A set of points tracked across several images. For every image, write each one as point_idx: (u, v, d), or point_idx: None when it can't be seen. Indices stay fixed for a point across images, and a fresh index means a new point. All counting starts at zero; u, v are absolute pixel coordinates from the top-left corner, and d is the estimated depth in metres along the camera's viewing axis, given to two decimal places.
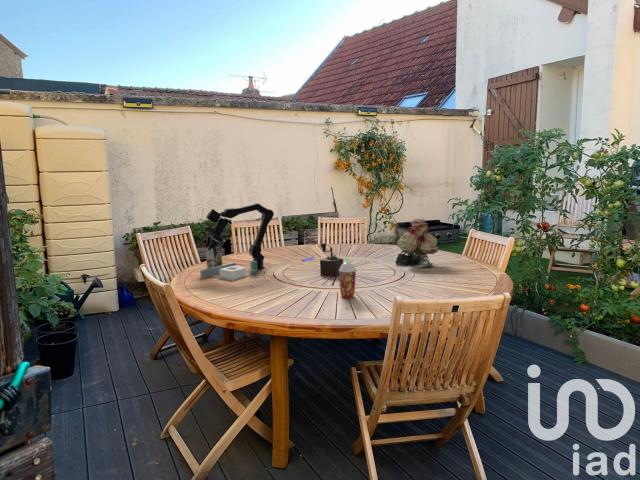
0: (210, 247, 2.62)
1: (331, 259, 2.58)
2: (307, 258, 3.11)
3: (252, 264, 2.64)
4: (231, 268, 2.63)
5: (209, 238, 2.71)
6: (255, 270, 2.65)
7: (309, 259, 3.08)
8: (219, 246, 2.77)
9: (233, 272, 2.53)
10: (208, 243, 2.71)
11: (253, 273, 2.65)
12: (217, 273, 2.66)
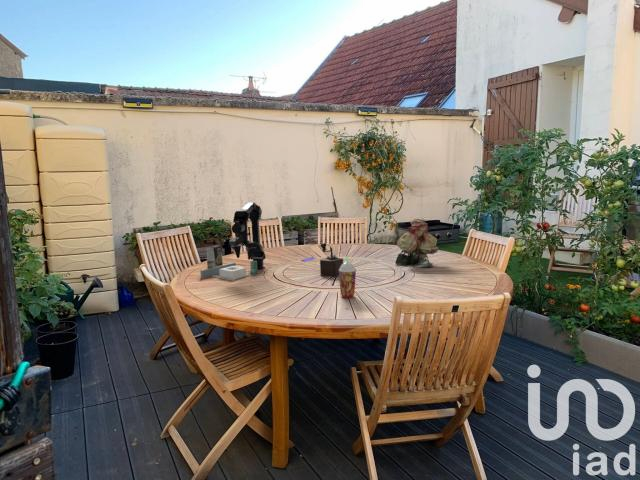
0: (249, 256, 2.49)
1: (331, 259, 2.58)
2: (307, 258, 3.11)
3: (252, 264, 2.64)
4: (231, 268, 2.63)
5: (236, 247, 2.54)
6: (255, 270, 2.65)
7: (309, 259, 3.08)
8: (220, 247, 2.76)
9: (233, 272, 2.53)
10: (238, 252, 2.55)
11: (253, 273, 2.65)
12: (217, 273, 2.66)
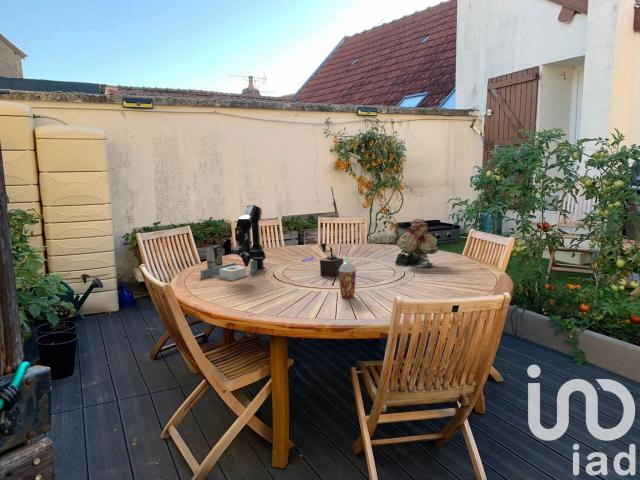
0: (247, 263, 2.52)
1: (331, 259, 2.58)
2: (308, 258, 3.11)
3: (252, 264, 2.64)
4: (231, 268, 2.63)
5: None
6: (255, 270, 2.65)
7: (309, 259, 3.08)
8: (220, 247, 2.76)
9: (233, 272, 2.53)
10: None
11: (253, 273, 2.65)
12: (217, 273, 2.66)
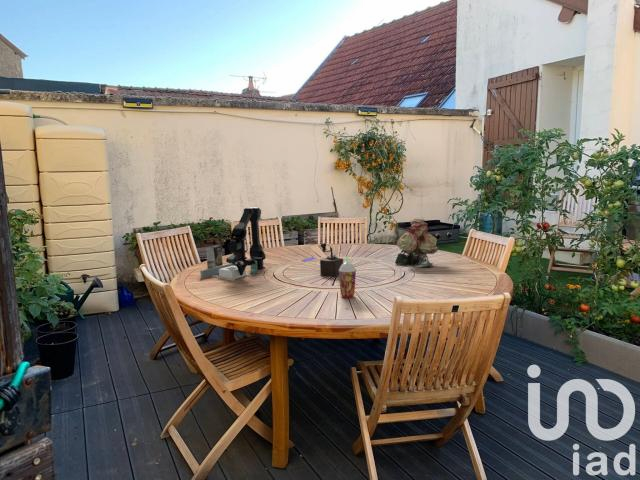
0: (242, 272, 2.56)
1: (331, 259, 2.58)
2: (308, 258, 3.11)
3: None
4: (230, 268, 2.63)
5: None
6: (255, 270, 2.65)
7: (310, 259, 3.08)
8: (220, 247, 2.76)
9: (232, 272, 2.54)
10: None
11: (253, 273, 2.65)
12: (217, 273, 2.66)
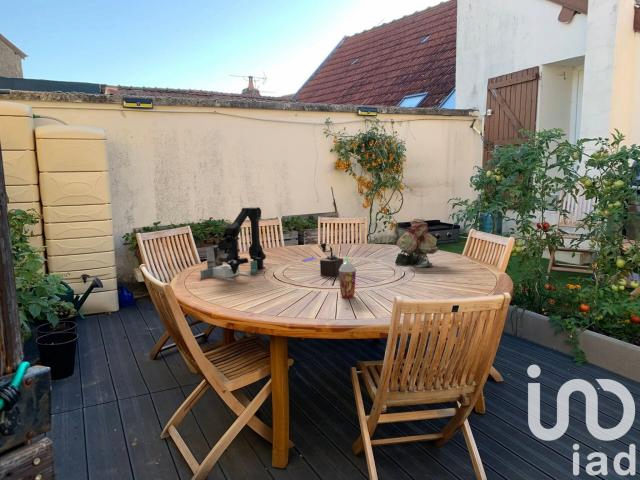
0: (235, 271, 2.59)
1: (331, 259, 2.58)
2: (308, 258, 3.11)
3: (252, 264, 2.64)
4: (224, 267, 2.67)
5: None
6: (255, 270, 2.65)
7: (310, 259, 3.08)
8: None
9: (226, 271, 2.57)
10: None
11: (253, 273, 2.65)
12: None
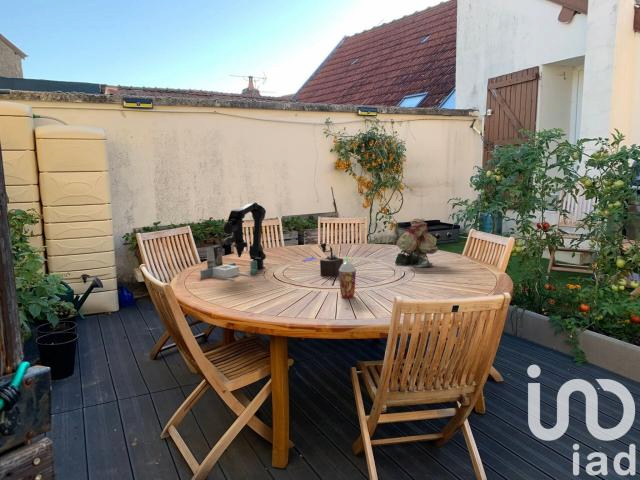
0: (239, 254, 2.60)
1: (331, 259, 2.58)
2: (308, 258, 3.11)
3: (252, 264, 2.64)
4: (224, 267, 2.67)
5: None
6: (255, 270, 2.65)
7: (310, 259, 3.08)
8: (220, 247, 2.76)
9: (226, 271, 2.57)
10: None
11: (253, 273, 2.65)
12: None
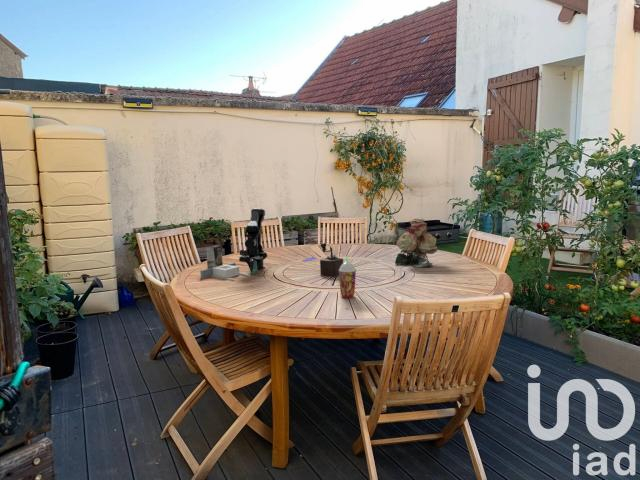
0: (250, 268, 2.64)
1: (331, 259, 2.58)
2: (309, 258, 3.11)
3: None
4: (224, 267, 2.67)
5: (255, 260, 2.68)
6: (255, 270, 2.65)
7: (311, 259, 3.08)
8: (220, 247, 2.76)
9: (226, 271, 2.57)
10: None
11: (253, 273, 2.65)
12: None
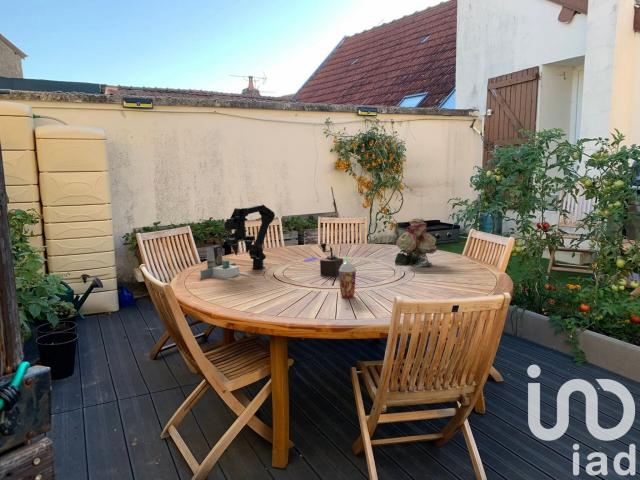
0: (235, 252, 2.65)
1: (331, 259, 2.58)
2: (310, 258, 3.11)
3: (224, 264, 2.61)
4: None
5: (246, 242, 2.73)
6: None
7: (312, 259, 3.08)
8: (220, 247, 2.76)
9: (226, 271, 2.57)
10: (247, 247, 2.73)
11: None
12: None
